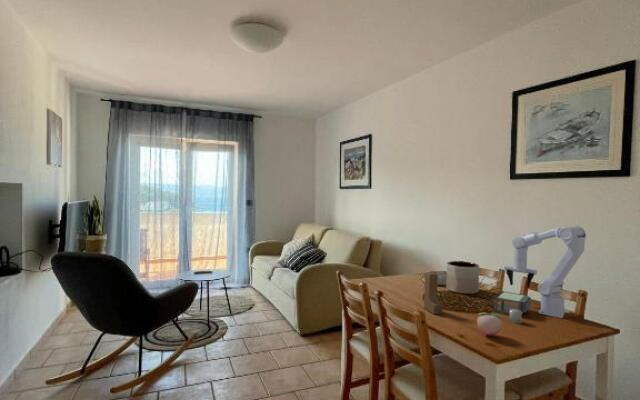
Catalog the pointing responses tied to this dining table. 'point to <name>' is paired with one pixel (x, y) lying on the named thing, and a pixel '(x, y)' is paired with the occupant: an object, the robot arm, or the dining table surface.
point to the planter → (462, 277)
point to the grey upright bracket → (431, 294)
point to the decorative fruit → (489, 323)
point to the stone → (515, 316)
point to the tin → (441, 277)
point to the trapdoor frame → (506, 305)
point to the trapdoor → (524, 299)
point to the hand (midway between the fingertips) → (519, 286)
